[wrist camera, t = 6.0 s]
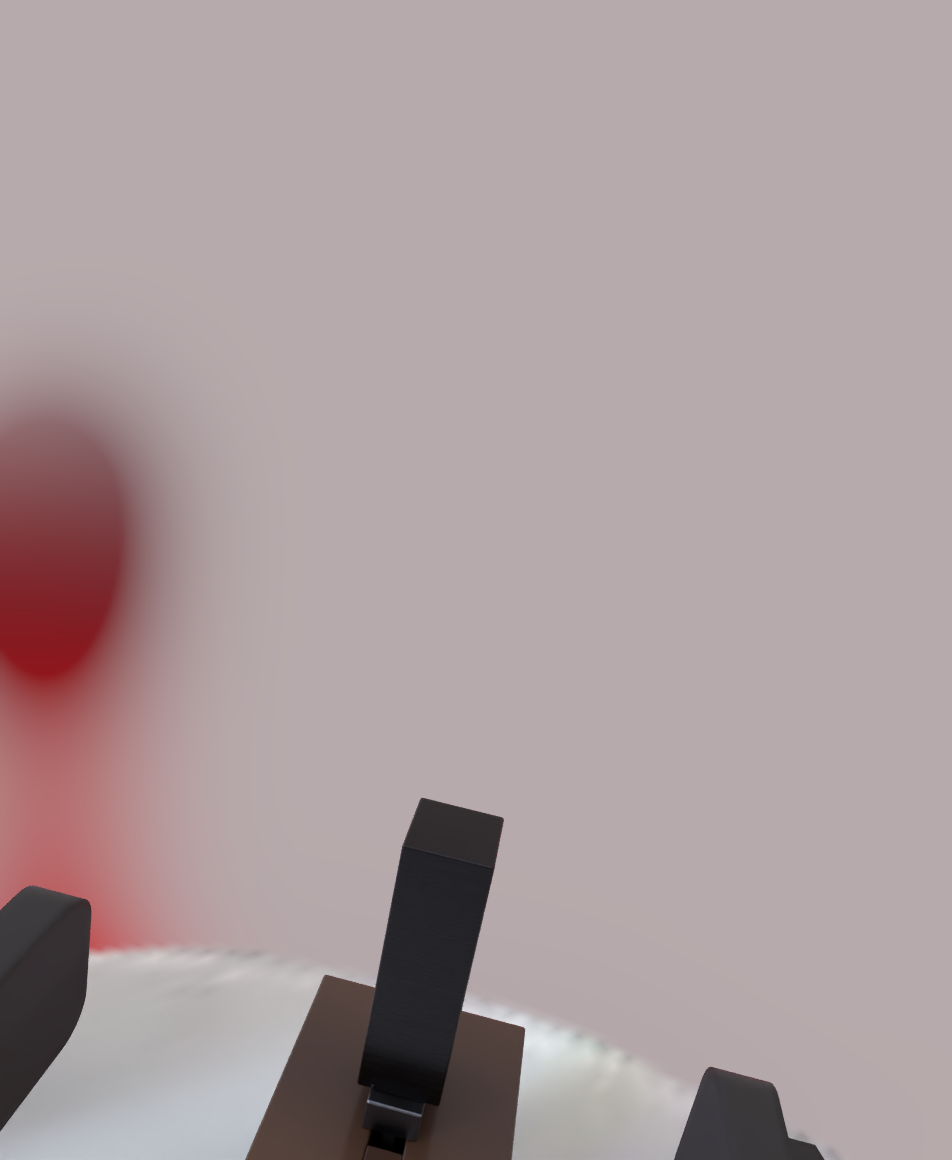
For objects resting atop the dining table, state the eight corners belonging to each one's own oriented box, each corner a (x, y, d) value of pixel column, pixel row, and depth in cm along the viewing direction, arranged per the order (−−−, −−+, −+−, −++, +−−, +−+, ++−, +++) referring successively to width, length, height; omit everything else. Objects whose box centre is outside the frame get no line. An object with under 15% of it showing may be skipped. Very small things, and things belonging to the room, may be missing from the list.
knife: (375, 1383, 26) (492, 878, 21) (302, 1360, 27) (398, 854, 21) (398, 1275, 30) (506, 809, 24) (332, 1255, 30) (423, 789, 24)
